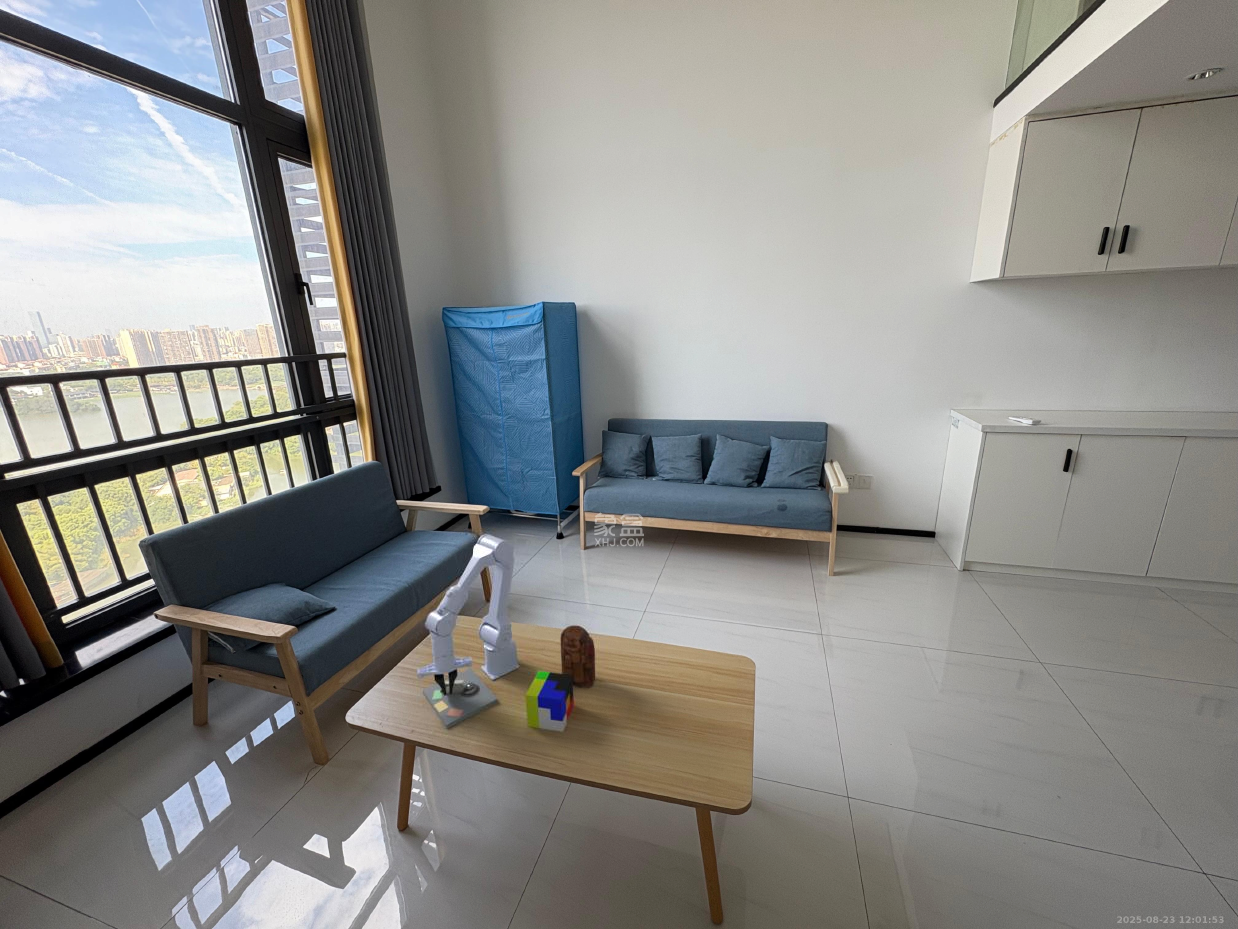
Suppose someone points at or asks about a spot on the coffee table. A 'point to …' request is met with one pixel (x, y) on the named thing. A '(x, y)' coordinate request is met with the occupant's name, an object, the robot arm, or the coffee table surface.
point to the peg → (461, 687)
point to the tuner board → (459, 700)
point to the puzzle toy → (550, 701)
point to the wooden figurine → (578, 656)
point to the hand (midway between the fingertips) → (448, 692)
